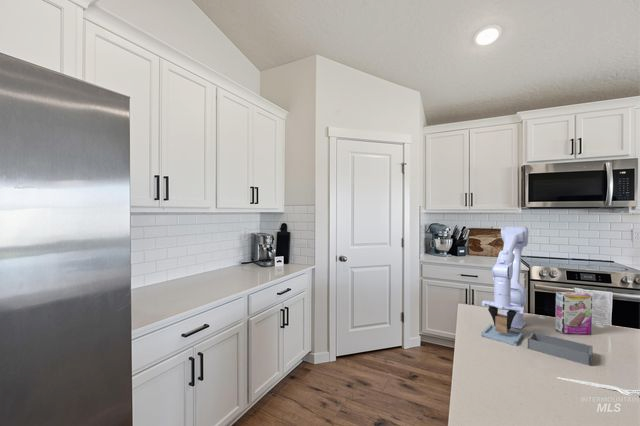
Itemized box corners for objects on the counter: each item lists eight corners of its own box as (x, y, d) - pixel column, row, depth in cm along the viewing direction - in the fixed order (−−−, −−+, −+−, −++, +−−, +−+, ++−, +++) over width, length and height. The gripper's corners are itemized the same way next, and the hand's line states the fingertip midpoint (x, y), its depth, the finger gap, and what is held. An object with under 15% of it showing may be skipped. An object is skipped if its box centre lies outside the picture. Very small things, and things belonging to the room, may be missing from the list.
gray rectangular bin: (532, 340, 114) (532, 331, 114) (592, 356, 102) (592, 346, 102) (527, 348, 107) (527, 339, 107) (591, 365, 95) (591, 355, 95)
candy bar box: (563, 334, 120) (563, 294, 120) (554, 329, 125) (554, 291, 125) (592, 335, 119) (592, 295, 118) (583, 330, 123) (583, 292, 123)
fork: (555, 377, 90) (555, 371, 90) (646, 394, 81) (646, 388, 81) (558, 383, 87) (557, 376, 87) (652, 401, 78) (652, 394, 78)
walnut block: (498, 328, 121) (498, 313, 121) (509, 330, 118) (509, 316, 118) (495, 330, 118) (495, 316, 118) (506, 333, 115) (506, 318, 115)
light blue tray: (490, 327, 127) (490, 324, 127) (523, 336, 118) (523, 332, 118) (481, 336, 118) (481, 332, 118) (516, 345, 110) (516, 341, 110)
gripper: (479, 292, 120) (479, 324, 120) (521, 299, 110) (521, 335, 110) (484, 288, 125) (484, 320, 125) (525, 295, 115) (525, 329, 115)
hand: (502, 327), depth 118 cm, fingers closed on walnut block, 4 cm apart
